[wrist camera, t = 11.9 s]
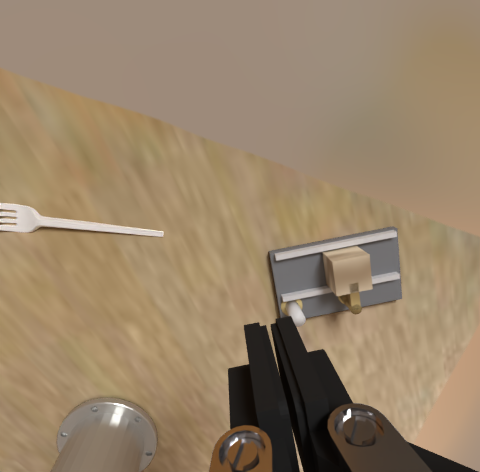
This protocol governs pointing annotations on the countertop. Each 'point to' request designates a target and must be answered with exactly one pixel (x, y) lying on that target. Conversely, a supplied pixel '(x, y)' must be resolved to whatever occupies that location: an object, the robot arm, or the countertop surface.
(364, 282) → the tan slider block
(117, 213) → the countertop surface
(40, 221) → the fork
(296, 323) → the switch panel
